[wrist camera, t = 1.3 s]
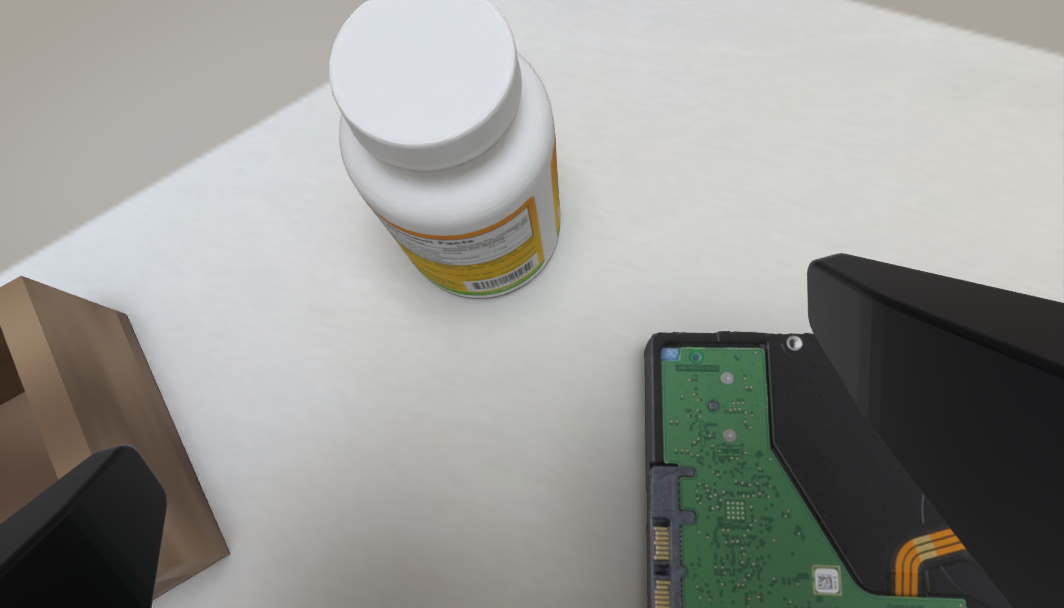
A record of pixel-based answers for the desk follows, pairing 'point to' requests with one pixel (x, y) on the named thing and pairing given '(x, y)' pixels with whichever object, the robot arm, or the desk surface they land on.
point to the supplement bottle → (449, 140)
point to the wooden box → (91, 415)
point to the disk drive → (783, 488)
